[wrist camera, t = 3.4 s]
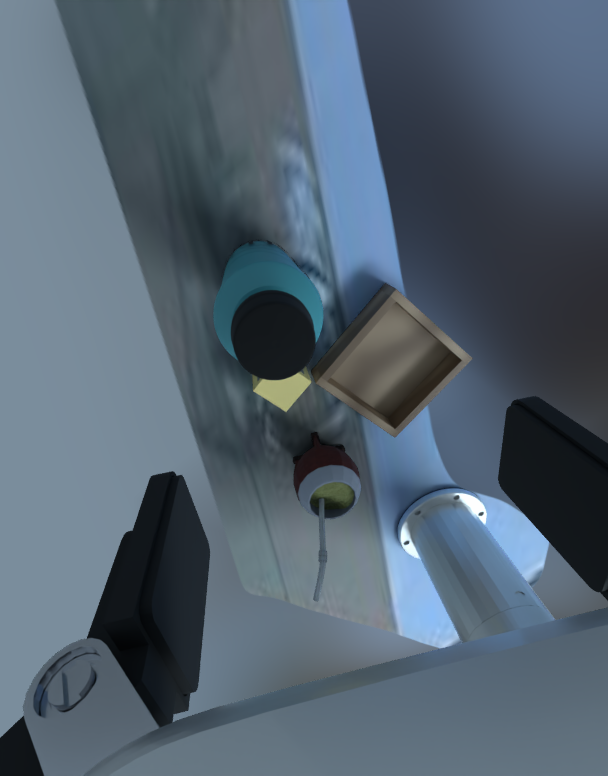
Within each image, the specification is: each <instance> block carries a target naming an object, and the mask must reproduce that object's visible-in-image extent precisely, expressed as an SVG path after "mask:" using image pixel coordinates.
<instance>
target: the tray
mask: <svg viewBox="0 0 608 776" xmlns="http://www.w3.org/2000/svg"><path fill="white" fill-rule="evenodd" d="M470 360H472V358H471V357H470V356H469V355H468V354H467V353H466V352H465V351H464V350H463V349H462V348H460V347H459V346H458V345H457V344H456V343H455V342H454V341H453V340H452V339H450V338H449V337H448V336H447V335H446V334H445V333H444V332H443V331H442V330H441V329H439V328H438V327H437V326H436V325H435V324H434V323H433V322H432V321H431V320H430V319H428V318H427V317H426V316H425V315H424V314H423V313H422V312H421V311H420V310H419V309H417V308H416V307H415V306H414V305H413V304H412V303H411V302H410V301H409V300H408V299H407V298H405V297H404V296H403V295H402V294H401V293H400V292H399V291H398V290H397V289H395V288H393V287H392V286H390V285H388V284H386V283H385V284H384V285H383V286H382V287H381V289H380V290H379V291H378V292H377V293H376V295H375V296H374V297H373V298H372V299H371V300H370V302H369V303H368V304H367V305H366V306H365V308H364V309H363V310H362V311H361V312H360V314H359V315H358V316H357V317H356V318H355V320H354V321H353V322H352V323H351V324H350V325H349V327H348V328H347V329H346V330H345V331H344V333H343V334H342V335H341V336H340V337H339V339H338V340H337V341H336V342H335V343H334V344H333V346H332V347H331V348H330V349H329V350H328V352H327V353H326V354H325V355H324V356H323V358H322V359H321V360H320V361H319V362H318V364H317V365H316V366H315V367H314V368H313V369H312V371H311V372H312V375H313V377H314V380H315V382H316V384H318V385H319V386H321V387H322V388H323V389H325V390H326V391H328V392H329V393H331V394H332V395H334V396H335V397H337V398H338V399H339V400H341V401H342V402H344V403H345V404H347V405H348V406H350V407H351V408H353V409H354V410H355V411H357V412H358V413H360V414H361V415H363V416H364V417H366V418H367V419H368V420H370V421H371V422H373V423H374V424H376V425H377V426H379V427H380V428H382V429H383V430H384V431H386V432H387V433H389V434H390V435H392V436H393V437H396V436H397V435H398V434H399V433H400V432H401V431H402V430H403V429H404V428H405V427H406V426H407V425H408V424H409V423H410V422H411V421H412V420H413V419H414V418H415V417H416V416H417V415H418V414H419V413H420V412H421V411H422V410H423V409H424V408H425V407H426V406H427V405H428V404H429V402H431V400H433V398H434V397H435V396H436V395H437V394H438V393H439V392H440V391H441V390H442V389H443V388H444V387H445V386H446V385H447V384H448V383H449V382H450V381H451V380H452V379H453V378H454V377H455V376H456V375H457V374H458V373H459V372H460V371H461V370H462V369H463V368H464V367H465V366H466V365H467V364H468V363H469V362H470Z"/></svg>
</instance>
